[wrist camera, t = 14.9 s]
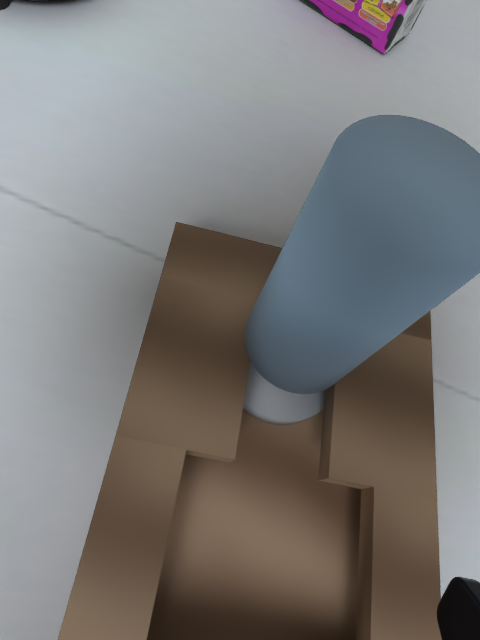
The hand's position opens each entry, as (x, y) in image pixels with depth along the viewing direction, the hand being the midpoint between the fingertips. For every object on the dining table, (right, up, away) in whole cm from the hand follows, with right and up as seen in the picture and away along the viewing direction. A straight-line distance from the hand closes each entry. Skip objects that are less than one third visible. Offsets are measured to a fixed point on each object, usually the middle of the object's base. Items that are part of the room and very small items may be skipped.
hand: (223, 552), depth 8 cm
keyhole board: (+1, -3, +13) cm, 13 cm away
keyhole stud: (+2, +2, +14) cm, 14 cm away
